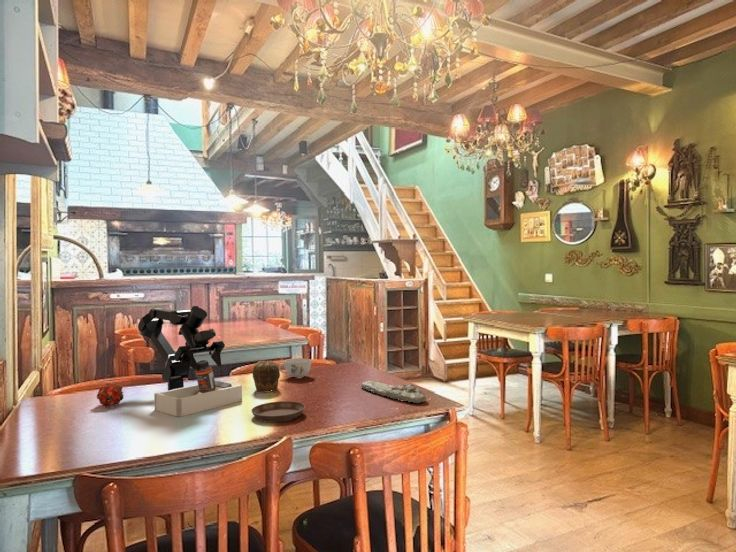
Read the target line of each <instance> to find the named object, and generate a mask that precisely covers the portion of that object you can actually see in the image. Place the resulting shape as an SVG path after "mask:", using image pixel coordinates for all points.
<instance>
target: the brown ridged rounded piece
mask: <svg viewBox="0 0 736 552" xmlns="http://www.w3.org/2000/svg"><path fill="white" fill-rule="evenodd" d="M280 376H281V371H280V370H279V365H278V364H277V363H276V362H274V361H272V360H267V361H266V360H259V361H257V362H256V363H255V364H254V366H253V369H252V378H253V382H254V386H255V390H256V391H258V392H260V391H271V390H275V391H277V390H276V389H278V387H279V386H278V385H279V379H280V378H281V377H280ZM271 392H272V391H271Z"/></svg>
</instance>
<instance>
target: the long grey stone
mask: <svg viewBox="0 0 736 552" xmlns="http://www.w3.org/2000/svg"><path fill="white" fill-rule="evenodd" d="M360 387H361V389H362V388H363V389H362V390H365V389H366V390H365V391H367V390H368V391H367V392H369V391H371V392H370V393H372V392H374V393H373V394H375V393H377V394H376V395H378V394H380V395H383V396H382V397H384V396H387V397H386V398H389V397H390V399H391V398H394V399H399V400H403V401H408V402H407V403H410V402H413V403H414V404H420V403H421V402H422V403H425V401H426V398H427V397H426V394H425V393H424V392H423V390H421V389H420V388H418V387H415V385H414V384H413V383H410V384H402V385H392V384H388V383H385V382H378V381H376V380H367V381H366V380H365V381H363V382H362V383H361V385H360ZM380 395H379V396H380ZM394 399H393V400H394ZM399 400H398V401H399ZM422 403H421V404H422Z"/></svg>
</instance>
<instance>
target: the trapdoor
mask: <svg viewBox="0 0 736 552" xmlns="http://www.w3.org/2000/svg"><path fill="white" fill-rule="evenodd" d="M214 381H215V386H216V388H215V390H219V389H224V388H228V387H233V385H232V383H230V382H226V381H225V382H224V381H220V380H219V381H216V379H214ZM215 390H213V391H215ZM197 394H202V393H200V391H198V392H197V393H195V394H194V395H197Z"/></svg>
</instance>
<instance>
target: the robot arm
mask: <svg viewBox="0 0 736 552" xmlns="http://www.w3.org/2000/svg"><path fill="white" fill-rule="evenodd" d="M207 317H208V313H207V311H206V310H205V309H203V308H201V307H199V306H198V305H193V306H192V307H191V310H190V309H181V310H172V309H166V308H164V307H163V308H162V307H158V308H152V309H149V312H148V313H145V315H144V316H142V317H141V318H140V320H139V322H138V325H137V329H138V331H139V333H141V334H142V336H143V337H146V338H148V339H150V340H151V341H152V343H153V345H154V347H155V348H156V350H157V351H158V352H159V354H160V356H161V357H162V358H163V360H164V363H165V365H164V370H163V372H162V373H161V378H162V379H161V380H162V381H164V382H167V391H169V390H173V389H178V388H183V387H185V386H184V385H185V384H184V379H188V378H189V375H190V369H191V368H192V369H193V370H195V371H196V370H197V371H199V370H200V369H199V366H198V364H197V362H198V361H197V360H196V358H195V357H194V355H195V354H204V353H209V355H210V358H211V360H213V362H214V363H215V364H216V365H217V366H218V367H219V368H221V367H222V359H221V358H222V357H221V353H222V351H223V350H224V348H225V347H226V344H225V343H224V341H223V340H217V341H213V342H212V343H211V345H208V344H209V343H210V340H212V339H213V338H215V337H216V336H217V333H216V331H215V329H214V328H208V329H205V330H204V329H203V330H201V331H199V328H200V327H202V325H203V324H204V322H205V320H206V318H207ZM164 321H168V322H170V324H172V325H173V326H181V327H179V331H178V333H177V334H178V336H182V337H183V338H184V341H185V343H184V345H182V346H178V348H177V350H176V351H175V350H174V348H173V347H172V345H171V344H170V342H169V341H168V339H167V338H166V336H165V335H164V334H163V332H162V330H163V325H164V324H165V322H164ZM207 345H208V346H207Z"/></svg>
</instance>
